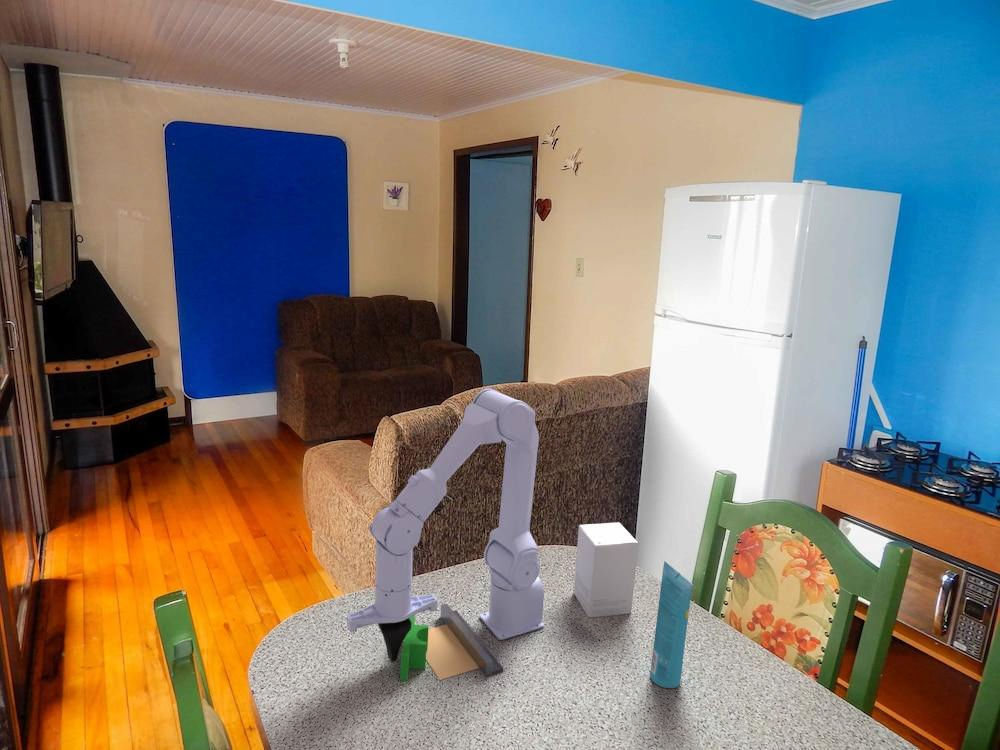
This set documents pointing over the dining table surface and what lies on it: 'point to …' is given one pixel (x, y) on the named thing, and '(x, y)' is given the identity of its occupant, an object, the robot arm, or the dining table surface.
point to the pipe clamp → (414, 649)
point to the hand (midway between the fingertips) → (392, 657)
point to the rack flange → (458, 648)
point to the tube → (670, 628)
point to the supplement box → (605, 569)
